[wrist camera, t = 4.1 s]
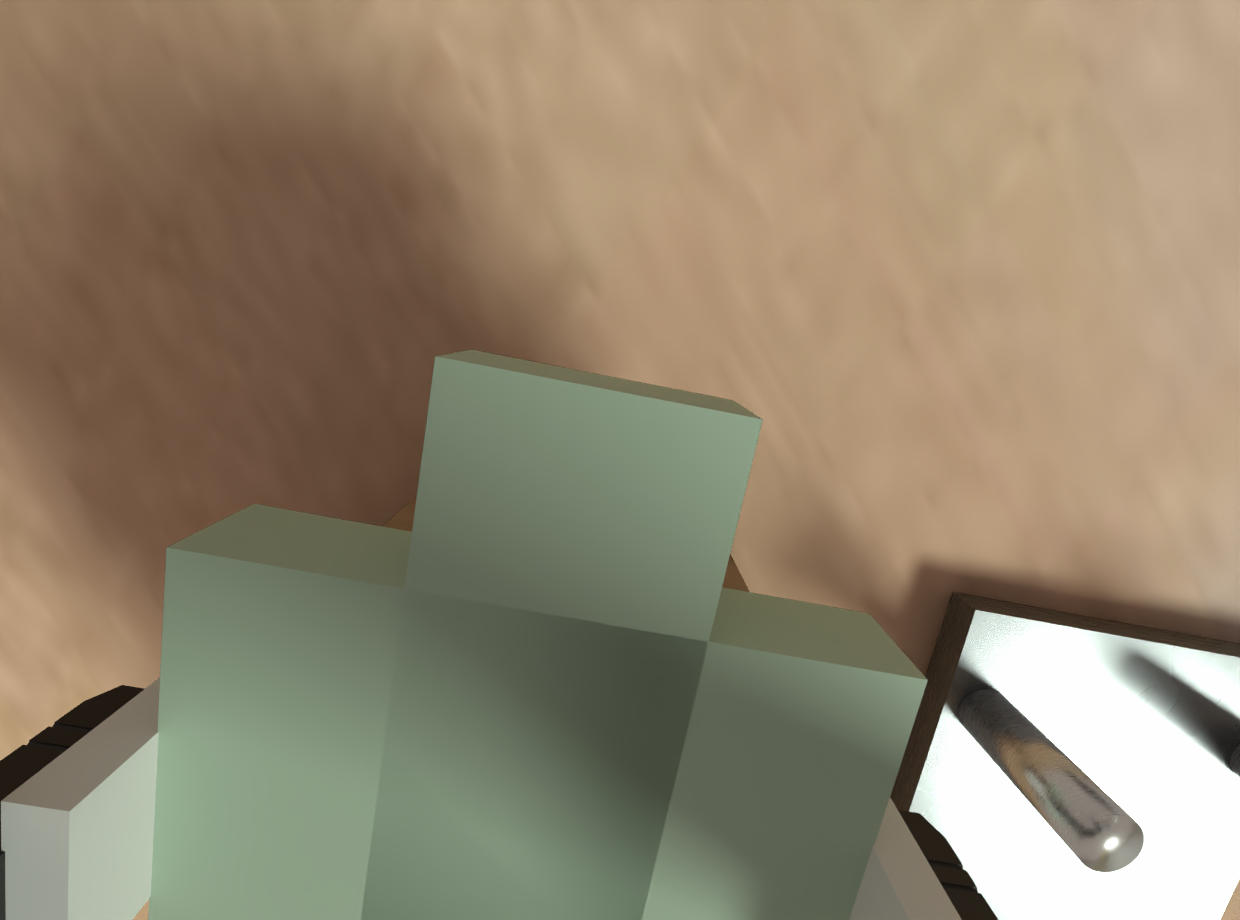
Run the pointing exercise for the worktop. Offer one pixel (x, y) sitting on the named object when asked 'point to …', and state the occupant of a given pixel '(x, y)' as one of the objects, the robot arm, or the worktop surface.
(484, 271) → the worktop surface
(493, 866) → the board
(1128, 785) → the chassis
